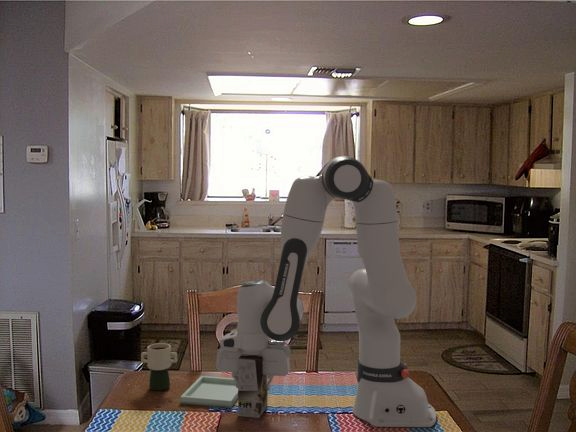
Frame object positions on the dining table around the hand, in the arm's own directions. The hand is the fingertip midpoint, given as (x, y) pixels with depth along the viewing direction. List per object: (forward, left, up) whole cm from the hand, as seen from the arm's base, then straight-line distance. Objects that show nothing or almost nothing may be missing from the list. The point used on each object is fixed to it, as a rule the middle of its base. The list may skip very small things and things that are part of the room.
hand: (253, 388), depth 161 cm
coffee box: (0, 0, -6) cm, 6 cm away
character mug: (+32, -10, -6) cm, 34 cm away
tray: (+14, -9, -6) cm, 18 cm away
